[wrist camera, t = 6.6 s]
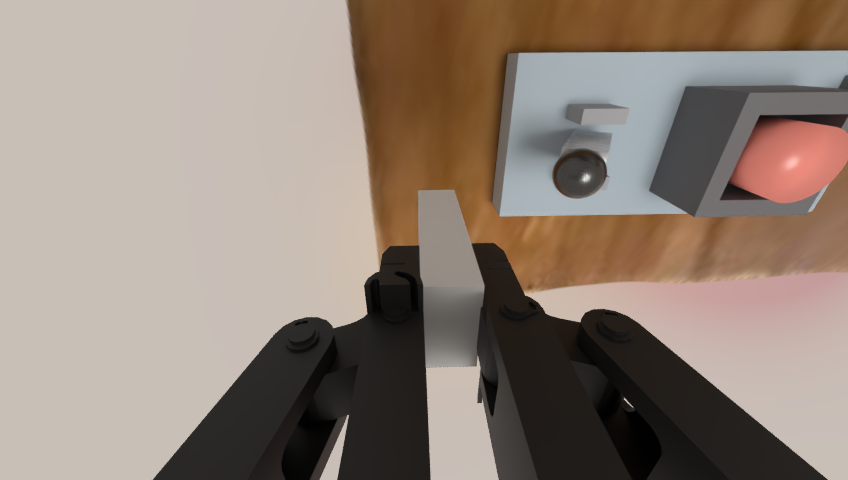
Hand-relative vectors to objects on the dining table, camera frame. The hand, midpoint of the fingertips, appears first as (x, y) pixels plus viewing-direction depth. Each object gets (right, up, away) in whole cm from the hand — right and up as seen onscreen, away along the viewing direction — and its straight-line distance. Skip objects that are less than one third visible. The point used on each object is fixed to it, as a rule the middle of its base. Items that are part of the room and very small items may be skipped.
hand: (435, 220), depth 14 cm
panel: (+19, +8, +13) cm, 25 cm away
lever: (+11, +6, +9) cm, 16 cm away
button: (+22, +6, +10) cm, 25 cm away
